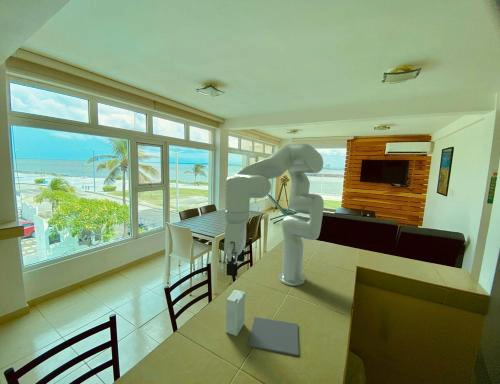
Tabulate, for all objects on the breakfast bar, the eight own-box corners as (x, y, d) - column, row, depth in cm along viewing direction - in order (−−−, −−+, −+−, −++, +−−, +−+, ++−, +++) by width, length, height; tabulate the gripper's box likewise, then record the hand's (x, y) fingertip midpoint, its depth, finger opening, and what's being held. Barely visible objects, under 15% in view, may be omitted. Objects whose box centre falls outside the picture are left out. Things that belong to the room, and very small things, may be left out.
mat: (254, 318, 75) (254, 316, 75) (297, 325, 72) (297, 323, 72) (247, 346, 63) (247, 344, 63) (298, 356, 61) (298, 354, 60)
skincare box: (233, 320, 74) (233, 288, 72) (245, 324, 72) (245, 291, 71) (225, 333, 68) (225, 298, 67) (237, 337, 67) (238, 302, 65)
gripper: (233, 209, 74) (232, 255, 76) (216, 221, 57) (215, 280, 60) (253, 210, 73) (252, 257, 75) (242, 224, 56) (241, 283, 58)
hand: (236, 267), depth 67 cm, fingers open, 9 cm apart
